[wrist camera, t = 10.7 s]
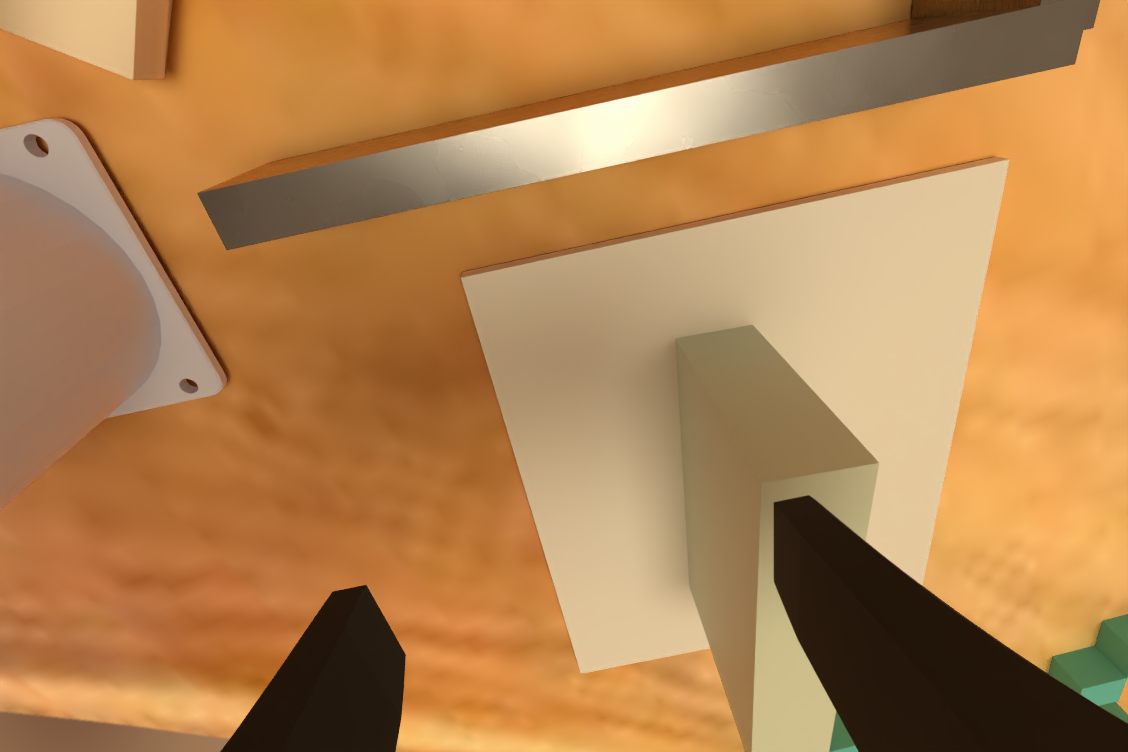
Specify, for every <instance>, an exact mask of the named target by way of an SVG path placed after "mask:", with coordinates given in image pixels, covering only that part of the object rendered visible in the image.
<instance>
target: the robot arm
mask: <svg viewBox="0 0 1128 752" xmlns="http://www.w3.org/2000/svg"><path fill="white" fill-rule="evenodd" d="M36 136H39V137H41V138H42V139H43V140H44V141H45V142H46V143H47V145H48V148H49V152H48V154H47V153H45V152H43V151H42V150H41V149H40V148H39V147H38V145H37V142H36ZM186 379H190V380H193V381H194V382H195V383H196V384H197V386H198V387H194V386H192V385H190V384H189V383H188V382H187V380H186ZM226 383H227V378H226V375H225V373H224V371H223V369H222V368H221V366H220V364H219V363H218V361H217V359H216V357H215V356H214V354H213V352H212V351H211V349H210V347H209V346H208V344H207V342H206V340H205V339H204V337H203V335H202V334H201V332H200V330H199V328H198V327H197V325H196V323H195V322H194V320H193V318H192V317H191V315H190V313H189V311H188V310H187V308H186V306H185V305H184V303H183V301H182V299H181V298H180V296H179V294H178V293H177V291H176V289H175V288H174V286H173V284H172V282H171V281H170V279H169V277H168V276H167V274H166V272H165V271H164V269H163V267H162V265H161V264H160V262H159V260H158V259H157V257H156V255H155V253H154V252H153V250H152V248H151V247H150V245H149V243H148V242H147V240H146V238H145V236H144V235H143V233H142V231H141V230H140V228H139V226H138V225H137V223H136V221H135V219H134V218H133V216H132V214H131V213H130V211H129V209H128V207H127V206H126V204H125V202H124V201H123V199H122V197H121V196H120V194H119V192H118V190H117V189H116V187H115V185H114V184H113V182H112V180H111V178H110V177H109V175H108V173H107V172H106V170H105V168H104V167H103V165H102V163H101V161H100V160H99V158H98V156H97V155H96V153H95V151H94V150H93V148H92V146H91V144H90V143H89V141H88V139H87V138H86V136H85V135H84V133H83V132H82V131H81V129H80V128H79V127H78V126H76V125H75V124H73V123H72V122H71V121H68V120H65V119H63V118H49V119H42V120H38V121H34V122H29V123H25V124H20V125H16V126H12V127H7V128H3V129H0V510H2V509H3V508H4V507H5V506H6V505H7V504H8V503H10V502H11V501H12V500H13V499H14V498H15V497H16V496H18V495H19V494H20V493H21V492H22V491H23V490H24V489H26V488H27V487H28V486H29V485H30V484H31V483H32V482H33V481H35V480H36V479H37V478H38V477H39V476H40V475H41V474H43V473H44V472H45V471H46V470H47V469H48V468H49V467H51V466H52V465H53V464H54V463H55V462H56V461H57V460H58V459H60V458H61V457H62V456H63V455H64V454H65V453H66V452H68V451H69V450H70V449H71V448H72V447H73V446H74V445H76V444H77V443H78V442H79V441H80V440H81V439H82V438H84V437H85V436H86V435H87V434H88V433H89V432H90V431H91V430H93V429H94V428H95V427H96V426H97V425H98V424H99V423H101V422H102V421H103V420H104V419H106V418H110V417H115V416H120V415H124V414H129V413H134V412H139V411H143V410H148V409H153V408H157V407H162V406H167V405H171V404H176V403H181V402H185V401H190V400H195V399H200V398H204V397H209V396H214V395H216V394H218V393H219V392H220V391H221V390H222V389H223V388H224V387H225V385H226ZM774 584H775V586H776V588H777V591H778V593H779V596H780V598H781V601H782V603H783V606H784V608H785V611H786V613H787V616H788V618H789V620H790V623H791V625H792V627H793V630H794V632H795V634H796V637H797V639H798V641H799V643H800V645H801V647H802V649H803V650H804V652H805V654H806V656H807V658H808V660H809V662H810V663H811V665H812V667H813V669H814V671H815V673H816V675H817V676H818V678H819V680H820V682H821V684H822V686H823V688H824V689H825V691H826V693H827V695H828V697H829V699H830V700H831V702H832V704H833V706H834V708H835V710H836V711H837V713H838V715H839V717H840V719H841V720H842V722H843V724H844V726H845V728H846V730H847V731H848V733H849V735H850V737H851V739H852V741H853V742H854V744H855V746H856V748H857V750H858V752H1128V723H1127V722H1125V721H1123V720H1121V719H1120V718H1118V717H1116V716H1115V715H1113V714H1111V713H1110V712H1108V711H1106V710H1105V709H1103V708H1101V707H1100V706H1098V705H1097V704H1095V703H1093V702H1092V701H1090V700H1089V699H1087V698H1085V697H1084V696H1082V695H1081V694H1079V693H1077V692H1076V691H1074V690H1073V689H1071V688H1069V687H1068V686H1066V685H1065V684H1063V683H1062V682H1060V681H1058V680H1057V679H1055V678H1054V677H1052V676H1050V675H1049V674H1047V673H1046V672H1044V671H1043V670H1041V669H1040V668H1038V667H1037V666H1035V665H1034V664H1032V663H1031V662H1029V661H1028V660H1026V659H1025V658H1023V657H1022V656H1020V655H1019V654H1017V653H1016V652H1014V651H1013V650H1011V649H1010V648H1008V647H1007V646H1005V645H1004V644H1002V643H1001V642H1000V641H998V640H997V639H995V638H994V637H992V636H991V635H990V634H988V633H987V632H985V631H984V630H982V629H981V628H980V627H978V626H977V625H975V624H974V623H972V622H971V621H969V620H968V619H967V618H965V617H964V616H963V615H961V614H960V613H958V612H957V611H956V610H954V609H953V608H952V607H950V606H949V605H947V604H946V603H945V602H943V601H942V600H941V599H939V598H938V597H937V596H935V595H934V594H933V593H931V592H930V591H929V590H927V589H926V588H925V587H923V586H922V585H921V584H920V583H918V582H917V581H916V580H914V579H913V578H912V577H910V576H909V575H908V574H906V573H905V572H904V571H902V570H901V569H900V568H899V567H897V566H896V565H895V564H893V563H892V562H891V561H890V560H888V559H887V558H886V557H885V556H883V555H882V554H881V553H880V552H878V551H877V550H876V549H875V548H873V547H872V546H871V545H870V544H868V543H867V542H866V541H865V540H863V539H862V538H861V537H860V536H859V535H857V534H856V533H855V532H854V531H852V530H851V529H850V528H849V527H848V526H846V525H845V524H844V523H843V522H842V521H840V520H839V519H838V518H837V517H836V516H834V515H833V514H832V513H831V512H830V511H829V510H827V509H826V508H825V507H824V506H823V505H821V504H820V503H819V502H818V501H817V500H815V499H814V498H812V497H811V496H809V495H807V496H802V497H797V498H792V499H787V500H782V501H777V502H774ZM405 656H406V655H405V653H404V651H403V649H402V647H401V646H400V644H399V642H398V640H397V639H396V637H395V635H394V633H393V631H392V630H391V628H390V626H389V624H388V623H387V621H386V619H385V617H384V616H383V614H382V612H381V610H380V608H379V607H378V605H377V603H376V601H375V600H374V598H373V596H372V594H371V592H370V591H369V589H368V587H367V585H363V586H358V587H354V588H349V589H344V590H339V591H334V592H332V593H331V595H330V596H329V598H328V599H327V601H326V602H325V603H324V605H323V606H322V608H321V609H320V611H319V612H318V613H317V615H316V616H315V618H314V619H313V621H312V622H311V624H310V625H309V627H308V628H307V629H306V631H305V632H304V634H303V635H302V637H301V638H300V640H299V641H298V643H297V644H296V646H295V647H294V649H293V650H292V651H291V653H290V654H289V656H288V657H287V659H286V660H285V662H284V663H283V665H282V666H281V668H280V669H279V670H278V672H277V673H276V675H275V676H274V678H273V679H272V681H271V682H270V683H269V685H268V686H267V688H266V689H265V691H264V692H263V693H262V695H261V696H260V698H259V699H258V700H257V702H256V703H255V705H254V706H253V708H252V709H251V710H250V712H249V713H248V715H247V716H246V717H245V719H244V720H243V722H242V723H241V725H240V726H239V727H238V729H237V730H236V732H235V733H234V734H233V736H232V737H231V738H230V740H229V741H228V742H227V744H226V745H225V746H224V748H223V749H222V750H221V752H395V750H396V745H397V739H398V734H399V728H400V722H401V714H402V702H403V691H404V674H405Z"/></svg>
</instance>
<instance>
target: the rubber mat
mask: <svg viewBox="0 0 1128 752" xmlns="http://www.w3.org/2000/svg"><path fill="white" fill-rule="evenodd" d="M1009 160H1010V159H1006V158H1001V157H992V158H988V159H983V160H978V161H974V162H969V163H965V164H960V165H955V166H951V167H946V168H941V169H937V170H932V171H928V172H923V173H918V174H914V175H909V176H904V177H900V178H895V179H891V180H886V181H881V182H877V183H872V184H867V185H863V186H858V187H854V188H849V189H844V190H840V191H835V192H830V193H826V194H821V195H817V196H812V197H807V198H803V199H798V200H793V201H789V202H784V203H780V204H775V205H770V206H766V207H761V208H756V209H752V210H747V211H743V212H738V213H733V214H729V215H724V216H719V217H715V218H710V219H706V220H701V221H696V222H692V223H687V224H682V225H678V226H673V227H669V228H664V229H659V230H655V231H650V232H645V233H641V234H636V235H632V236H627V237H622V238H618V239H613V240H608V241H604V242H599V243H595V244H590V245H585V246H581V247H576V248H571V249H567V250H562V251H557V252H553V253H548V254H544V255H539V256H534V257H530V258H525V259H520V260H516V261H511V262H507V263H502V264H497V265H493V266H488V267H483V268H479V269H474V270H470V271H465V272H462V274H461V280H462V284H463V287H464V290H465V294H466V297H467V300H468V303H469V307H470V310H471V313H472V317H473V320H474V323H475V327H476V330H477V333H478V336H479V340H480V343H481V346H482V350H483V353H484V356H485V359H486V363H487V366H488V369H489V373H490V376H491V379H492V382H493V386H494V389H495V392H496V396H497V399H498V402H499V405H500V409H501V412H502V415H503V419H504V422H505V425H506V429H507V432H508V435H509V438H510V442H511V445H512V448H513V452H514V455H515V458H516V461H517V465H518V468H519V471H520V475H521V478H522V481H523V484H524V488H525V491H526V494H527V498H528V501H529V504H530V508H531V511H532V514H533V517H534V521H535V524H536V527H537V531H538V534H539V537H540V540H541V544H542V547H543V550H544V554H545V557H546V560H547V563H548V567H549V570H550V573H551V577H552V580H553V583H554V586H555V590H556V593H557V596H558V600H559V603H560V606H561V610H562V613H563V616H564V619H565V623H566V626H567V629H568V633H569V636H570V639H571V642H572V646H573V649H574V652H575V656H576V659H577V662H578V665H579V669H580V672H581V674H582V673H587V672H592V671H597V670H602V669H607V668H612V667H617V666H622V665H627V664H633V663H638V662H643V661H648V660H653V659H658V658H663V657H668V656H673V655H678V654H683V653H688V652H693V651H698V650H704V649H709V648H710V646H709V643H708V640H707V637H706V634H705V631H704V628H703V625H702V622H701V619H700V616H699V613H698V610H697V607H696V604H695V602H694V599H693V596H692V593H691V590H690V586H689V569H688V551H687V533H686V516H685V498H684V480H683V462H682V445H681V427H680V409H679V392H678V374H677V356H676V339H675V338H679V337H685V336H691V335H697V334H702V333H708V332H714V331H719V330H725V329H731V328H737V327H742V326H748V325H754V327H755V328H756V329H757V330H758V331H759V332H760V333H761V334H762V335H763V336H764V337H765V339H766V340H767V341H768V342H769V343H770V344H771V345H772V346H773V347H774V348H775V349H776V351H777V352H778V353H779V354H780V355H781V356H782V357H783V358H784V359H785V360H786V362H787V363H788V364H789V365H790V366H791V367H792V368H793V369H794V370H795V371H796V372H797V374H798V375H799V376H800V377H801V378H802V379H803V380H804V381H805V382H806V383H807V384H808V386H809V387H810V388H811V389H812V390H813V391H814V392H815V393H816V394H817V395H818V396H819V398H820V399H821V400H822V401H823V402H824V403H825V404H826V405H827V406H828V407H829V408H830V410H831V411H832V412H833V413H834V414H835V415H836V416H837V417H838V418H839V419H840V420H841V422H842V423H843V424H844V425H845V426H846V427H847V428H848V429H849V430H850V431H851V432H852V434H853V435H854V436H855V437H856V438H857V439H858V440H859V441H860V442H861V443H862V444H863V446H864V447H865V448H866V449H867V450H868V451H869V452H870V453H871V454H872V455H873V456H874V458H875V459H876V460H877V461H878V462H879V468H878V474H877V479H876V485H875V491H874V497H873V502H872V508H871V514H870V520H869V525H868V531H867V537H866V542H867V543H868V544H870V545H871V546H872V547H873V548H875V549H876V550H877V551H878V552H880V553H881V554H882V555H883V556H885V557H886V558H887V559H888V560H890V561H891V562H892V563H893V564H895V565H896V566H897V567H899V568H900V569H901V570H902V571H904V572H905V573H906V574H908V575H909V576H910V577H912V578H913V579H914V580H916V581H917V582H918V583H920V584H921V585H923V580H924V575H925V570H926V566H927V561H928V556H929V551H930V546H931V541H932V536H933V531H934V526H935V522H936V517H937V512H938V507H939V502H940V497H941V492H942V487H943V483H944V478H945V473H946V468H947V463H948V458H949V453H950V448H951V443H952V439H953V434H954V429H955V424H956V419H957V414H958V409H959V404H960V399H961V395H962V390H963V385H964V380H965V375H966V370H967V365H968V360H969V355H970V351H971V346H972V341H973V336H974V331H975V326H976V321H977V316H978V311H979V307H980V302H981V297H982V292H983V287H984V282H985V277H986V272H987V268H988V263H989V258H990V253H991V248H992V243H993V238H994V233H995V228H996V224H997V219H998V214H999V209H1000V204H1001V199H1002V194H1003V189H1004V184H1005V180H1006V175H1007V170H1008V165H1009Z"/></svg>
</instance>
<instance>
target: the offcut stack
mask: <svg viewBox="0 0 1128 752" xmlns="http://www.w3.org/2000/svg"><path fill="white" fill-rule="evenodd" d="M172 2H173V0H0V29H2V30H5V31H7V32H10V33H12V34H15V35H18V36H20V37H23V38H25V39H28V40H30V41H33V42H36V43H38V44H41V45H43V46H46V47H49V48H51V49H54V50H56V51H59V52H62V53H64V54H67V55H69V56H72V57H75V58H77V59H80V60H82V61H85V62H87V63H90V64H93V65H95V66H98V67H100V68H103V69H106V70H108V71H111V72H113V73H116V74H119V75H121V76H124V77H126V78H129V79H132V80H149V79H164V78H165V68H166V59H167V50H168V40H169V31H170V21H171V12H172Z"/></svg>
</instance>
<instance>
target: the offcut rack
mask: <svg viewBox="0 0 1128 752" xmlns="http://www.w3.org/2000/svg"><path fill="white" fill-rule="evenodd" d="M1099 3H1100V0H913V6H912V15H911V19H910V20H906V21H901V22H897V23H892V24H888V25H883V26H879V27H874V28H870V29H865V30H861V31H856V32H852V33H847V34H843V35H838V36H834V37H829V38H825V39H820V40H816V41H811V42H807V43H802V44H798V45H793V46H789V47H784V48H780V49H776V50H771V51H767V52H762V53H758V54H753V55H749V56H744V57H740V58H735V59H731V60H726V61H722V62H717V63H713V64H708V65H704V66H699V67H695V68H690V69H686V70H681V71H677V72H672V73H668V74H663V75H659V76H654V77H650V78H646V79H641V80H637V81H632V82H628V83H623V84H619V85H614V86H610V87H605V88H601V89H596V90H592V91H587V92H583V93H578V94H574V95H569V96H565V97H560V98H556V99H551V100H547V101H542V102H538V103H533V104H529V105H524V106H520V107H515V108H511V109H507V110H502V111H498V112H493V113H489V114H484V115H480V116H475V117H471V118H466V119H462V120H457V121H453V122H448V123H444V124H439V125H435V126H430V127H426V128H421V129H417V130H412V131H408V132H403V133H399V134H394V135H390V136H385V137H381V138H377V139H372V140H368V141H363V142H359V143H354V144H350V145H345V146H341V147H336V148H332V149H327V150H323V151H318V152H314V153H309V154H305V155H300V156H296V157H291V158H287V159H282V160H278V161H273V162H270V163H268V164H266V165H263V166H261V167H258V168H256V169H254V170H251V171H249V172H246V173H244V174H242V175H239V176H237V177H235V178H232V179H230V180H227V181H225V182H223V183H220V184H218V185H215V186H213V187H211V188H208V189H206V190H204V191H201V192H199V193H197V194H198V196H199V197H200V199H201V201H202V203H203V205H204V207H205V209H206V211H207V213H208V215H209V217H210V219H211V221H212V223H213V225H214V227H215V228H216V230H217V232H218V234H219V236H220V238H221V240H222V242H223V244H224V246H225V248H226V250H230V249H235V248H239V247H244V246H248V245H253V244H258V243H262V242H267V241H271V240H276V239H280V238H285V237H289V236H294V235H299V234H303V233H308V232H312V231H317V230H321V229H326V228H330V227H335V226H340V225H344V224H349V223H353V222H358V221H362V220H367V219H371V218H376V217H381V216H385V215H390V214H394V213H399V212H403V211H408V210H412V209H417V208H422V207H426V206H431V205H435V204H440V203H444V202H449V201H453V200H458V199H463V198H467V197H472V196H476V195H481V194H485V193H490V192H494V191H499V190H504V189H508V188H513V187H517V186H522V185H526V184H531V183H535V182H540V181H545V180H549V179H554V178H558V177H563V176H567V175H572V174H576V173H581V172H586V171H590V170H595V169H599V168H604V167H608V166H613V165H617V164H622V163H627V162H631V161H636V160H640V159H645V158H649V157H654V156H658V155H663V154H668V153H672V152H677V151H681V150H686V149H690V148H695V147H699V146H704V145H709V144H713V143H718V142H722V141H727V140H731V139H736V138H740V137H745V136H750V135H754V134H759V133H763V132H768V131H772V130H777V129H781V128H786V127H791V126H795V125H800V124H804V123H809V122H813V121H818V120H822V119H827V118H832V117H836V116H841V115H845V114H850V113H854V112H859V111H863V110H868V109H873V108H877V107H882V106H886V105H891V104H895V103H900V102H904V101H909V100H914V99H918V98H923V97H927V96H932V95H936V94H941V93H945V92H950V91H955V90H959V89H964V88H968V87H973V86H977V85H982V84H986V83H991V82H996V81H1000V80H1005V79H1009V78H1014V77H1018V76H1023V75H1027V74H1032V73H1037V72H1041V71H1046V70H1050V69H1055V68H1059V67H1064V66H1068V65H1073V64H1075V62H1076V58H1077V54H1078V49H1079V45H1080V41H1081V37H1082V33H1083V30H1086V29H1090V28H1093V27H1094V23H1095V19H1096V15H1097V11H1098V7H1099Z"/></svg>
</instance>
